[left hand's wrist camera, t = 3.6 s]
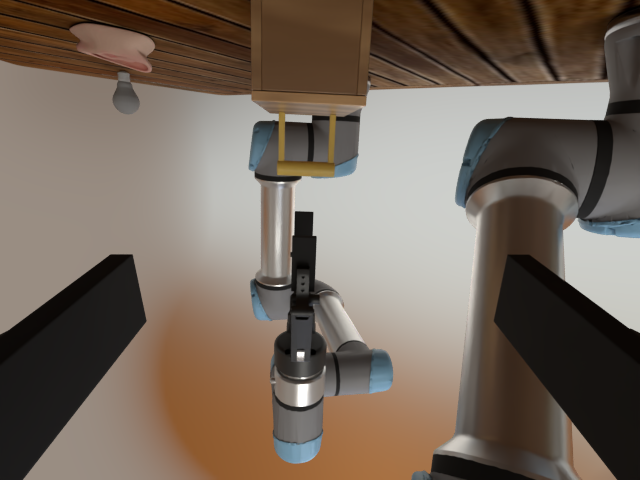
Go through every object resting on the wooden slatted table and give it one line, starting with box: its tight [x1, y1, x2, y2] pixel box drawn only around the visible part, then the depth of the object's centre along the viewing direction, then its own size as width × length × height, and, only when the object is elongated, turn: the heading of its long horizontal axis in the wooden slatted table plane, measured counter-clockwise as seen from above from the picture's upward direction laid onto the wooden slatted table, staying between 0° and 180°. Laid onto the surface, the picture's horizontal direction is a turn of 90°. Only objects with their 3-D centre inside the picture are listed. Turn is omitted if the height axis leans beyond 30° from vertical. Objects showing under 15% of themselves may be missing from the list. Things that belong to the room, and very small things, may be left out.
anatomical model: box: [70, 23, 155, 72], centre depth 56 cm, size 13×4×12 cm
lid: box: [252, 90, 367, 177], centre depth 39 cm, size 17×10×8 cm, turn 178°
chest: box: [251, 0, 373, 96], centre depth 36 cm, size 16×10×10 cm, turn 177°
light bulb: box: [113, 71, 140, 114], centre depth 90 cm, size 6×6×10 cm
